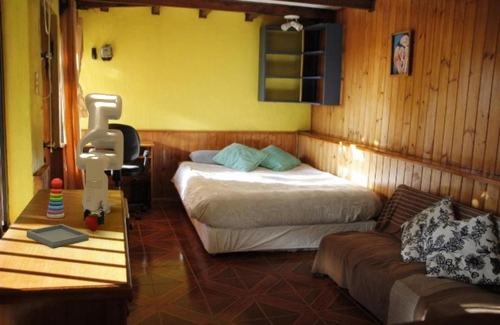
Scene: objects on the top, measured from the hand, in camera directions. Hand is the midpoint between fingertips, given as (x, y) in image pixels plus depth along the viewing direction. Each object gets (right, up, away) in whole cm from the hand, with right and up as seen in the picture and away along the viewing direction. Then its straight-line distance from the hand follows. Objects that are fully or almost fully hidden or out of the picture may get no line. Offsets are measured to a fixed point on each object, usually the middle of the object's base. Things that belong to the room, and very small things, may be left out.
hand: (93, 222), depth 209 cm
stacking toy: (-25, 0, +21) cm, 33 cm away
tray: (-12, -5, -10) cm, 16 cm away
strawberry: (0, -5, +1) cm, 5 cm away
